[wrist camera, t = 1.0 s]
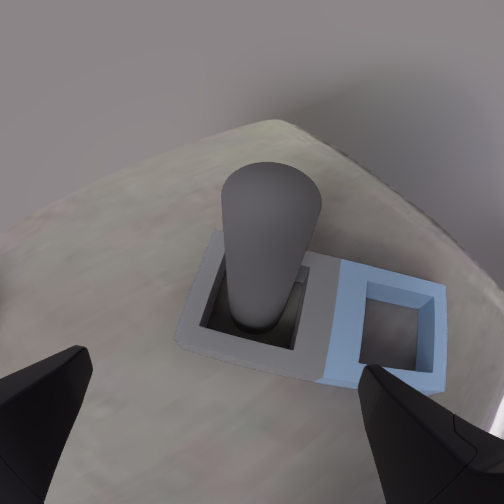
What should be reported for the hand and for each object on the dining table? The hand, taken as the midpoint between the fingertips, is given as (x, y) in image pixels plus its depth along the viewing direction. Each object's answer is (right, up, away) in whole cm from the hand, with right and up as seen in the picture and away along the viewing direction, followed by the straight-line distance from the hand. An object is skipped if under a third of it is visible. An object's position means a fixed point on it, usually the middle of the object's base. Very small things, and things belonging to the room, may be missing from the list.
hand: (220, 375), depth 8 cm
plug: (+1, -1, +16) cm, 16 cm away
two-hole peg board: (+7, -2, +16) cm, 17 cm away
